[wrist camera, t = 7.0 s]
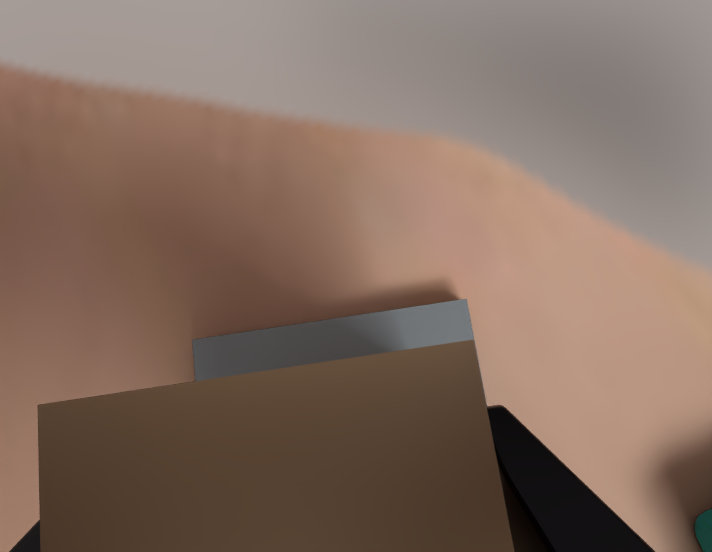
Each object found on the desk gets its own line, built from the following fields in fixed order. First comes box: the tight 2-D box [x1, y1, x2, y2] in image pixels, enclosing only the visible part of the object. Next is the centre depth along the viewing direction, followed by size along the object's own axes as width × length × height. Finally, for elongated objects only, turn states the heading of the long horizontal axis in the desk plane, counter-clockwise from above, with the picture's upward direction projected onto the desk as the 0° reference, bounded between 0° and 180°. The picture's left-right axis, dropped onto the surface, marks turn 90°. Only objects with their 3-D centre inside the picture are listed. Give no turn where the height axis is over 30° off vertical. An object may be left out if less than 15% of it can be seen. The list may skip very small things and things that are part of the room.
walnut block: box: [38, 339, 514, 552], centre depth 11 cm, size 5×5×11 cm
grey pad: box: [192, 299, 487, 406], centre depth 17 cm, size 9×9×1 cm
